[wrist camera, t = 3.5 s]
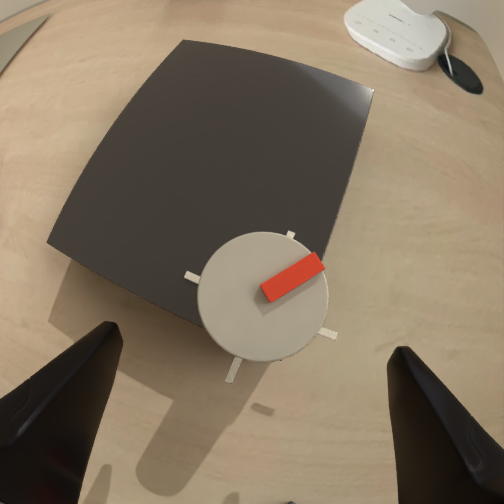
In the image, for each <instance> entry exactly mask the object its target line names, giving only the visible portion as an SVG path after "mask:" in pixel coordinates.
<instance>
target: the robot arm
mask: <svg viewBox="0 0 504 504" xmlns="http://www.w3.org/2000/svg"><path fill="white" fill-rule="evenodd" d="M122 347H123V339H122V336H121V333H120V330H119V327H118V325H117V324H116V323H115V322H109V321H105V322H103V323H101V324H100V325H99V326H97V327H96V328H95V329H93V330H92V331H91V332H89V333H88V334H87V335H85V336H84V337H82V338H81V339H80V340H78V341H77V342H76V343H74V344H73V345H72V346H70V347H69V348H68V349H66V350H65V351H64V352H62V353H61V354H60V355H58V356H57V357H56V358H55V359H53V360H52V361H51V362H49V363H48V364H47V365H45V366H44V367H43V368H41V369H40V370H39V371H38V372H36V373H35V374H34V375H32V376H31V377H30V379H27V380H26V381H25V382H23V383H22V384H21V385H19V386H18V387H17V388H15V389H14V390H13V391H11V392H10V393H8V394H7V395H5V396H4V397H2V398H1V399H0V504H78V500H79V496H80V492H81V488H82V482H83V479H84V476H85V472H86V468H87V465H88V461H89V458H90V454H91V451H92V447H93V444H94V441H95V437H96V434H97V431H98V428H99V425H100V422H101V419H102V416H103V413H104V410H105V407H106V404H107V401H108V398H109V395H110V392H111V389H112V386H113V383H114V379H115V375H116V371H117V367H118V363H119V359H120V355H121V351H122ZM387 379H388V397H389V411H390V418H391V426H392V433H393V441H394V450H395V460H396V471H397V484H398V502H399V504H504V449H503V448H502V447H501V446H500V445H499V444H498V443H497V442H496V441H495V440H494V439H493V438H492V437H491V436H490V435H489V434H488V433H487V432H486V431H485V430H484V429H483V428H482V427H481V426H480V424H479V423H478V422H477V421H476V420H475V419H474V418H473V416H471V414H470V413H469V412H468V411H467V410H466V408H465V407H464V406H463V405H462V404H461V403H460V402H459V401H458V399H457V398H456V397H455V396H454V395H453V394H452V393H451V392H450V390H449V389H448V388H447V387H446V386H445V385H444V384H443V383H442V382H441V380H440V379H439V378H438V377H437V376H436V375H435V374H434V373H433V372H432V371H431V370H430V369H429V367H428V366H427V365H426V364H425V363H424V362H423V361H422V360H421V359H420V358H419V357H418V356H417V355H416V354H415V352H414V351H413V350H412V349H411V348H410V347H408V346H398V347H397V348H396V349H395V350H394V352H393V354H392V355H391V357H390V359H389V361H388V363H387Z"/></svg>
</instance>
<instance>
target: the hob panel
mask: <svg viewBox="0 0 504 504" xmlns="http://www.w3.org/2000/svg"><path fill="white" fill-rule="evenodd" d="M373 94H374V90H373V89H371V88H369V87H366V86H364V85H361V84H359V83H356V82H354V81H351V80H349V79H346V78H343V77H341V76H338V75H335V74H332V73H330V72H327V71H324V70H321V69H318V68H315V67H311V66H308V65H305V64H302V63H298V62H295V61H291V60H288V59H284V58H280V57H276V56H273V55H268V54H264V53H260V52H256V51H251V50H246V49H241V48H236V47H231V46H225V45H219V44H213V43H206V42H199V41H191V40H182V41H181V42H180V43H179V45H178V46H177V47H176V48H175V49H174V50H173V51H172V52H171V53H170V54H169V55H168V56H167V57H166V58H165V60H164V61H163V62H162V63H161V64H160V65H159V66H158V67H157V69H156V70H155V71H154V72H153V73H152V74H151V76H150V77H149V78H148V79H147V80H146V82H145V83H144V84H143V85H142V86H141V88H140V89H139V90H138V91H137V93H136V94H135V95H134V96H133V98H132V99H131V100H130V102H129V103H128V104H127V106H126V107H125V108H124V110H123V111H122V112H121V114H120V115H119V116H118V118H117V119H116V121H115V122H114V124H113V125H112V126H111V128H110V129H109V131H108V132H107V134H106V135H105V137H104V138H103V140H102V141H101V143H100V144H99V146H98V147H97V149H96V150H95V152H94V154H93V155H92V157H91V158H90V160H89V162H88V163H87V165H86V167H85V168H84V170H83V172H82V173H81V175H80V177H79V179H78V180H77V182H76V184H75V186H74V188H73V189H72V191H71V193H70V195H69V197H68V199H67V201H66V203H65V205H64V206H63V208H62V210H61V212H60V214H59V216H58V219H57V221H56V223H55V225H54V227H53V229H52V231H51V233H50V236H49V238H48V240H47V243H48V244H49V245H51V246H52V247H54V248H55V249H57V250H59V251H60V252H62V253H63V254H65V255H67V256H68V257H70V258H72V259H73V260H75V261H77V262H78V263H80V264H82V265H83V266H85V267H87V268H88V269H90V270H92V271H94V272H95V273H97V274H99V275H101V276H102V277H104V278H106V279H108V280H109V281H111V282H113V283H115V284H117V285H118V286H120V287H122V288H124V289H126V290H128V291H130V292H131V293H133V294H135V295H137V296H139V297H141V298H143V299H145V300H147V301H149V302H151V303H153V304H155V305H156V306H158V307H160V308H162V309H164V310H166V311H169V312H171V313H173V314H175V315H177V316H179V317H181V318H183V319H185V320H187V321H189V322H191V323H194V324H196V325H198V326H200V327H202V328H204V329H205V327H204V325H203V323H202V321H201V318H200V315H199V310H198V304H197V290H198V284H199V279H200V277H201V274H202V271H203V269H204V267H205V265H206V263H207V262H208V260H209V259H210V258H211V256H212V255H213V254H214V253H215V252H216V251H217V250H218V249H219V248H220V247H221V246H222V245H224V244H225V243H227V242H228V241H230V240H232V239H234V238H236V237H238V236H241V235H244V234H248V233H253V232H273V233H279V234H282V235H285V236H288V237H290V238H292V239H294V240H296V241H298V242H299V243H301V244H302V245H303V246H305V247H306V248H307V249H308V250H309V251H310V252H311V253H312V252H315V253H316V255H317V256H318V258H319V259H320V261H321V262H322V259H323V257H324V254H325V251H326V248H327V246H328V243H329V240H330V237H331V234H332V231H333V228H334V226H335V223H336V220H337V217H338V214H339V211H340V208H341V205H342V202H343V198H344V195H345V192H346V189H347V186H348V183H349V180H350V176H351V173H352V170H353V167H354V163H355V160H356V156H357V153H358V150H359V146H360V143H361V139H362V136H363V132H364V128H365V125H366V121H367V117H368V113H369V110H370V106H371V102H372V98H373ZM318 334H320V335H323V336H325V337H328V338H330V339H333V340H336V339H337V336H338V333H336V332H334V331H331V330H329V329H326V328H323V327H321V329H320V330H319V332H318ZM280 361H282V360H280ZM241 362H242V359H241V358H238V357H236V356H235V358H234V360H233V363H232V365H231V367H230V369H229V372H228V374H227V376H226V378H225V381H226V382H228V383H231V384H232V382H233V380H234V377H235V375H236V373H237V371H238V368H239V366H240V364H241Z"/></svg>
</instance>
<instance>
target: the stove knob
mask: <svg viewBox="0 0 504 504" xmlns="http://www.w3.org/2000/svg"><path fill="white" fill-rule="evenodd" d="M324 269H325V267H324V266H323V264H322V262H321V261H320V259H319V258H318V256H317V255H316V253H315V252H312V253H311V252H310V251H309V250H308V249H307V248H306V247H305V246H303V245H302V244H301V243H299V242H298V241H296V240H294V239H292V238H290V237H288V236H285V235H282V234H279V233H273V232H253V233H248V234H244V235H241V236H238V237H236V238H234V239H232V240H230V241H228V242H227V243H225V244H224V245H222V246H221V247H220V248H219V249H218V250H217V251H216V252H215V253H214V254H213V255H212V256H211V258H210V259H209V260H208V262H207V263H206V265H205V267H204V269H203V271H202V274H201V277H200V279H199V284H198V290H197V304H198V310H199V315H200V318H201V321H202V323H203V325H204V327H205V329H206V331H207V332H208V334H209V335H210V337H211V338H212V339H213V340H214V341H215V342H216V343H217V344H218V345H219V346H220V347H221V348H222V349H224V350H225V351H227V352H228V353H230V354H232V355H234V356H236V357H238V358H241V359H244V360H247V361H253V362H274V361H278V360H282V359H285V358H288V357H290V356H292V355H294V354H296V353H298V352H299V351H301V350H302V349H303V348H305V347H306V346H307V345H308V344H309V343H310V342H311V341H312V340H313V339H314V338H315V336H316V335H317V334H318V332H319V330H320V329H321V327H322V325H323V323H324V320H325V317H326V314H327V310H328V304H329V291H328V284H327V280H326V276H325V274H324V271H323V270H324Z"/></svg>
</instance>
